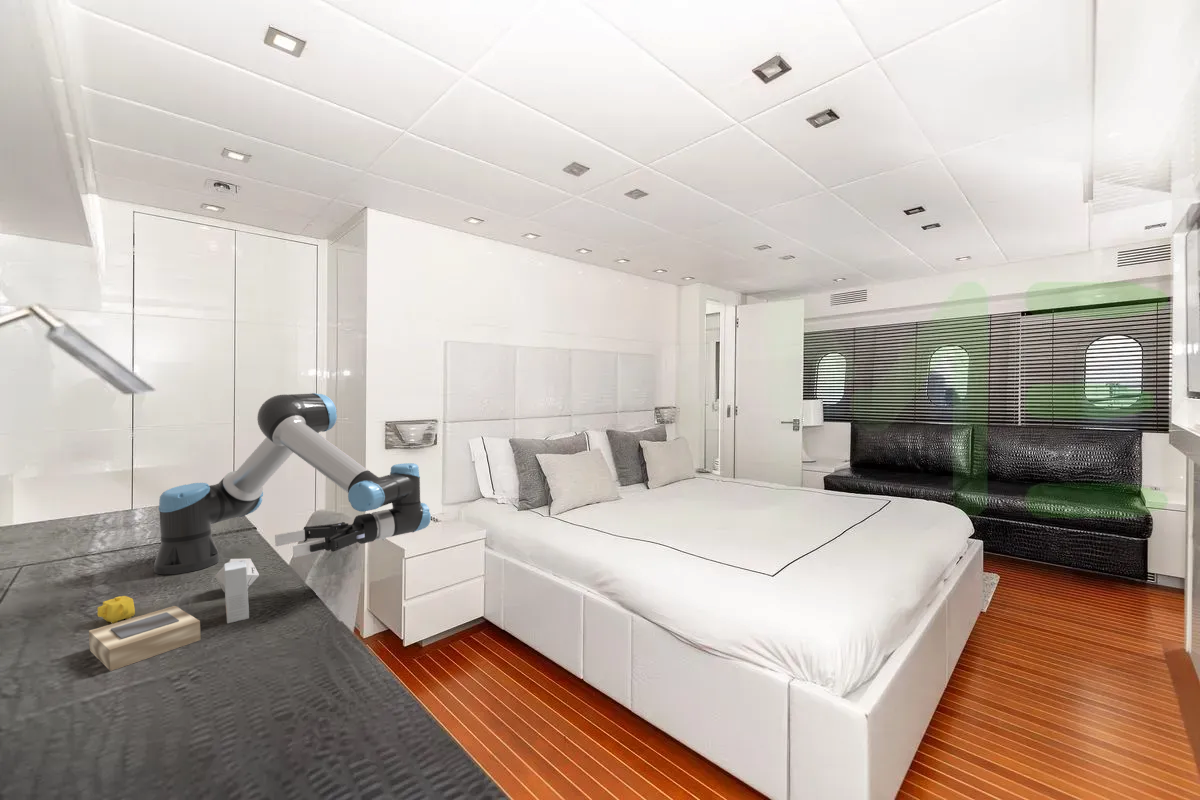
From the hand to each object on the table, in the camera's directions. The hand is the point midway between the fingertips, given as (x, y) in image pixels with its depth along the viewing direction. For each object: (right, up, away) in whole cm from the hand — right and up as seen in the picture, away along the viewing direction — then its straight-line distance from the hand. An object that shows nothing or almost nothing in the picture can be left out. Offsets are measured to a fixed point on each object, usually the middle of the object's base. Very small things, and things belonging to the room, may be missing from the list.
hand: (284, 546), depth 126 cm
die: (-18, -14, +9) cm, 24 cm away
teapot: (-34, -15, -7) cm, 38 cm away
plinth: (-17, -15, -19) cm, 29 cm away
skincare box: (-7, -14, -7) cm, 17 cm away
